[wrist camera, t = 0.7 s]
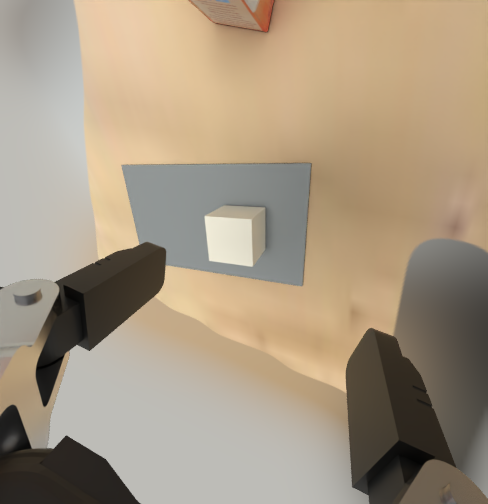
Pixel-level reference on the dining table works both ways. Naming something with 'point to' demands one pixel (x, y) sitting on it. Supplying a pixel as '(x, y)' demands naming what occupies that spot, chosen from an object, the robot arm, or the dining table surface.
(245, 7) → the cracker box
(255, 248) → the cube
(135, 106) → the dining table surface
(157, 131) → the dining table surface
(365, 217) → the dining table surface
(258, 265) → the mat
